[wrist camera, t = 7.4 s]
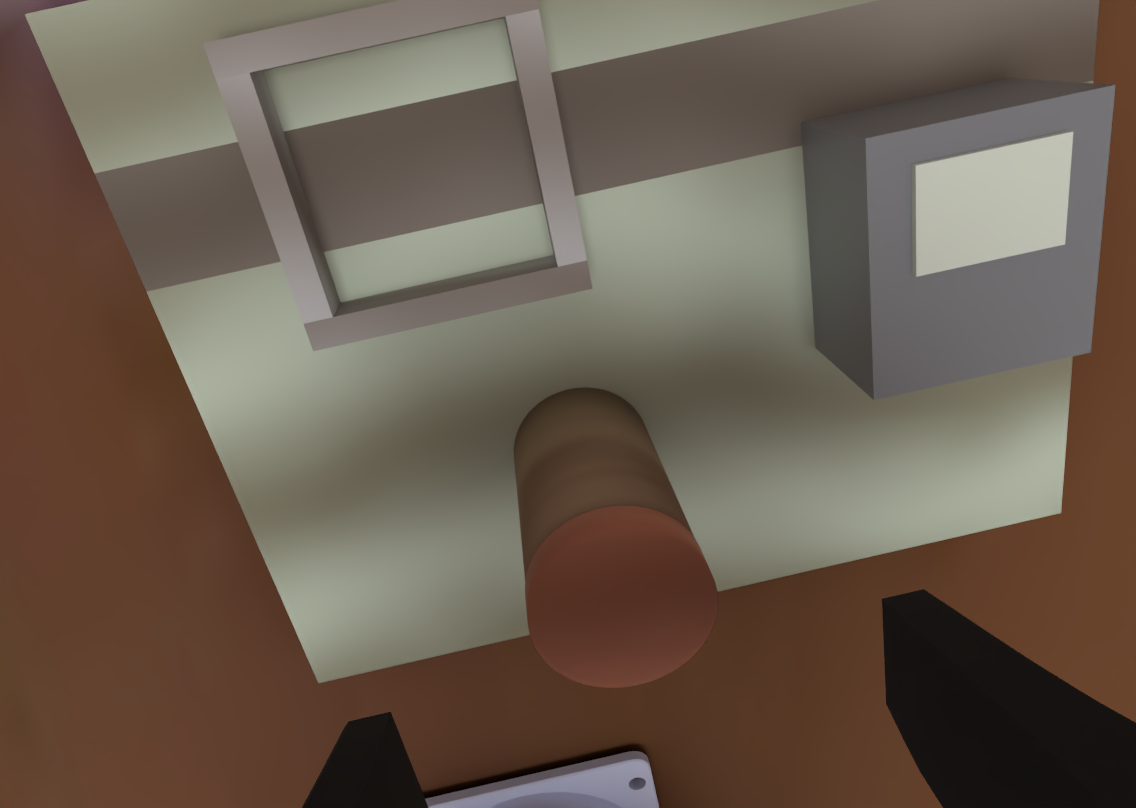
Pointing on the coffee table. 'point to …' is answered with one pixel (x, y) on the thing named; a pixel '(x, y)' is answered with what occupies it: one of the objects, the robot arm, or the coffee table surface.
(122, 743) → the coffee table surface
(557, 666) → the peg
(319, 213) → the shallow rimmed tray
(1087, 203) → the grey box with panel
